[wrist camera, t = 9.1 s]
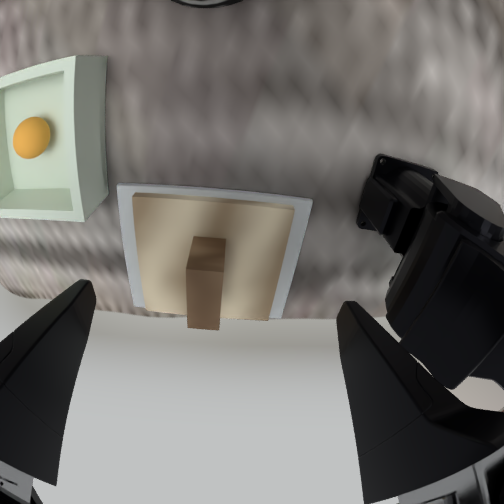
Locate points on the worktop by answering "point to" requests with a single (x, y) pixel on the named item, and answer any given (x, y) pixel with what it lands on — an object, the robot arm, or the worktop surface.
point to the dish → (55, 140)
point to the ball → (31, 137)
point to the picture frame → (299, 203)
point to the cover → (210, 255)
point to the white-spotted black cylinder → (206, 3)
